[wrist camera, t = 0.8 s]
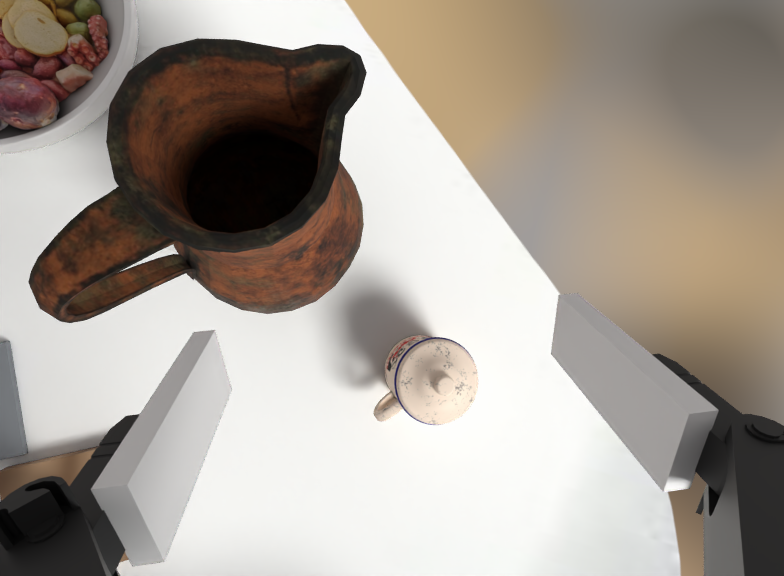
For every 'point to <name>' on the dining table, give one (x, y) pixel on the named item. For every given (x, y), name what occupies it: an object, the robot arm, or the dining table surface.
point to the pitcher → (218, 182)
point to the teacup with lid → (428, 380)
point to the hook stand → (45, 472)
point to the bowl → (60, 66)
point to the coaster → (10, 408)
